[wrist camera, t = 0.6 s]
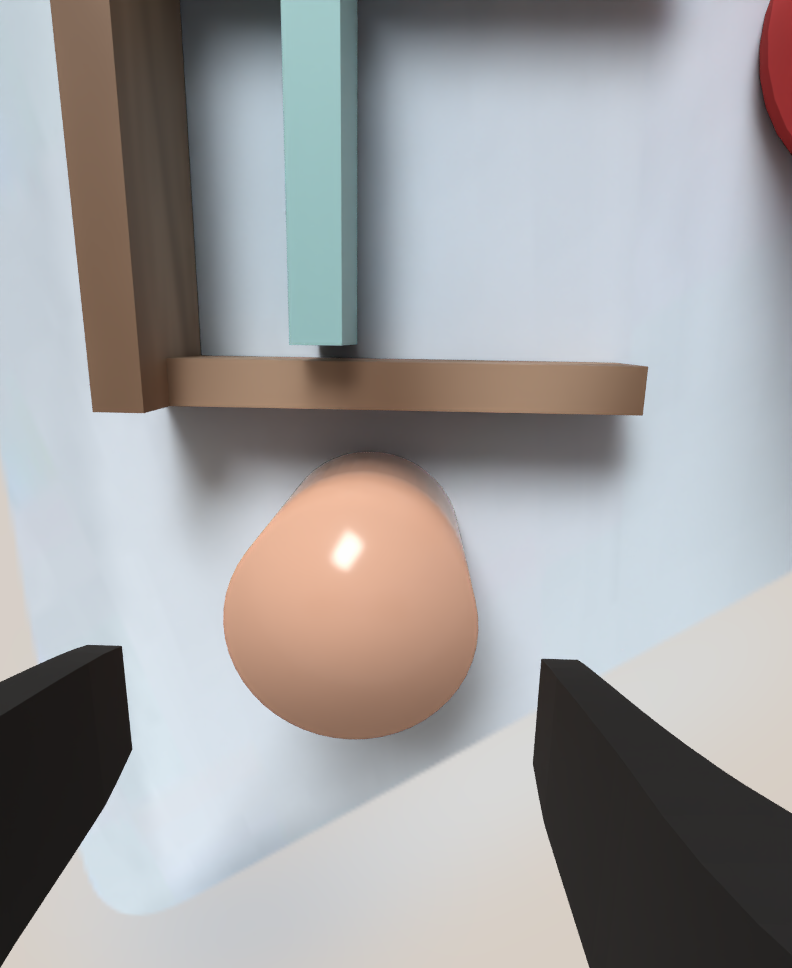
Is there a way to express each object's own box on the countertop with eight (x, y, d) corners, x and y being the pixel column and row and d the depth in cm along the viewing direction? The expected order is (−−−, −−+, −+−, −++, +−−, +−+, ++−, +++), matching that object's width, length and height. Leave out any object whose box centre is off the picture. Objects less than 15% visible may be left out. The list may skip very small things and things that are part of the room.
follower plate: (357, -36, 15) (339, -151, 11) (357, 343, 17) (341, 345, 14) (309, -35, 15) (276, -150, 11) (315, 343, 17) (289, 344, 14)
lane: (662, -109, 14) (753, -273, 11) (611, 404, 17) (667, 423, 14) (125, -107, 15) (23, -264, 11) (163, 396, 18) (93, 411, 14)
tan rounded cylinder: (462, 453, 18) (484, 508, 12) (455, 621, 19) (471, 743, 13) (280, 449, 18) (216, 501, 12) (285, 616, 19) (229, 735, 14)
